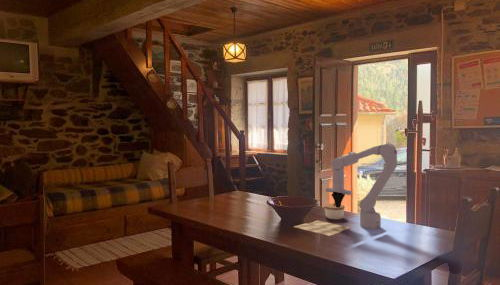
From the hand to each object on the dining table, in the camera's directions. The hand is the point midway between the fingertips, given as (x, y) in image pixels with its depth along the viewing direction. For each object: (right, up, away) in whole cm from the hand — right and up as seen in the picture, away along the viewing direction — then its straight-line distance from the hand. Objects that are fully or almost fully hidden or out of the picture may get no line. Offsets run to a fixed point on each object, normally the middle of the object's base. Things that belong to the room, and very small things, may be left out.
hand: (338, 207), depth 203 cm
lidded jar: (+1, -9, +12) cm, 15 cm away
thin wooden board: (-13, -10, -11) cm, 20 cm away
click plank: (-6, -9, -5) cm, 12 cm away
